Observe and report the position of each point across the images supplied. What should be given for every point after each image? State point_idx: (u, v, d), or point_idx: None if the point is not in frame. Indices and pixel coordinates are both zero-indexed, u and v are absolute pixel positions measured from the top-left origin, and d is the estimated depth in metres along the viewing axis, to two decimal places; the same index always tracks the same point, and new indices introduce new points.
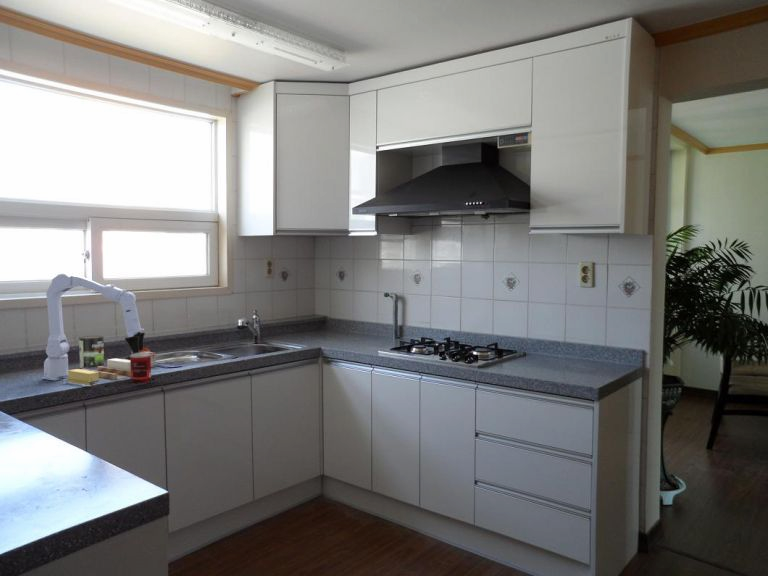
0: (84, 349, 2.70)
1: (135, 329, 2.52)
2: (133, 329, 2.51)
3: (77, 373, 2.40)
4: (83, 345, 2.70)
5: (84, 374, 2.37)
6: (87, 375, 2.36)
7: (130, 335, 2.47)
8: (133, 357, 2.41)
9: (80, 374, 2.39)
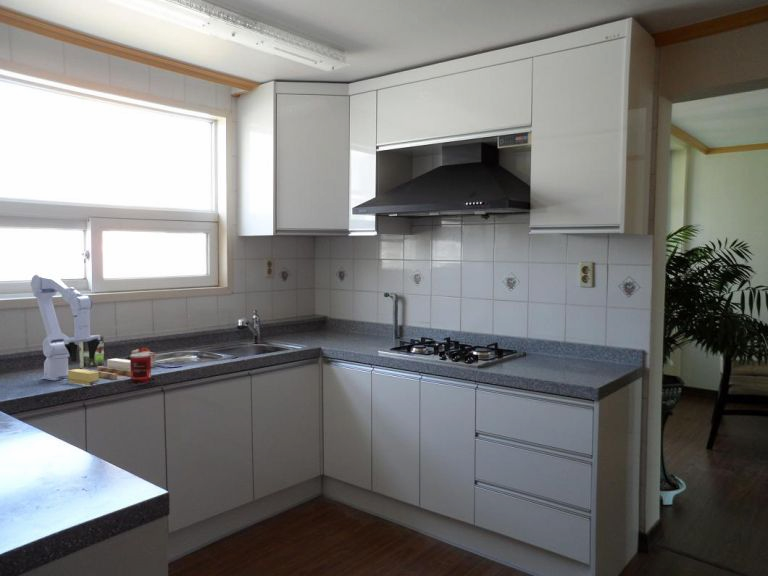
0: (84, 348, 2.70)
1: (78, 336, 2.37)
2: (76, 336, 2.38)
3: (77, 373, 2.40)
4: (83, 345, 2.70)
5: (84, 374, 2.37)
6: (87, 375, 2.36)
7: (65, 342, 2.34)
8: (133, 357, 2.41)
9: (80, 374, 2.39)
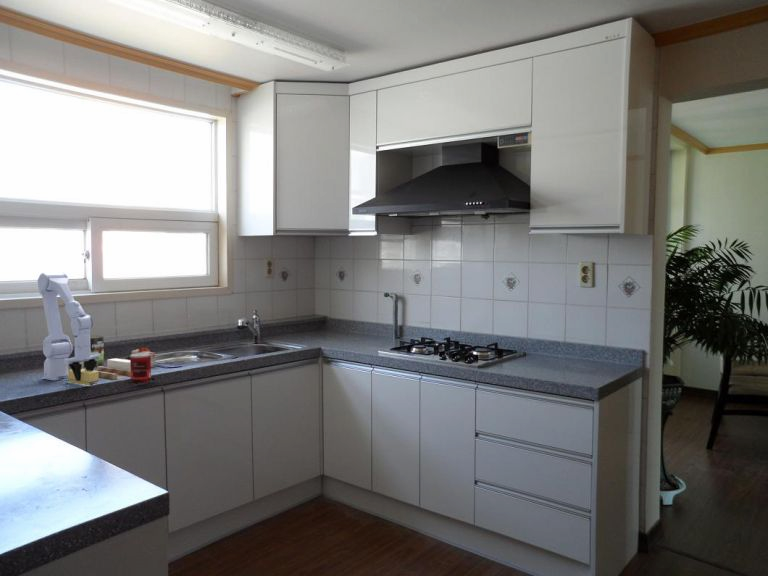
0: None
1: (78, 356, 2.38)
2: (77, 356, 2.38)
3: None
4: None
5: (84, 374, 2.37)
6: (87, 375, 2.36)
7: (65, 362, 2.35)
8: (133, 357, 2.41)
9: None
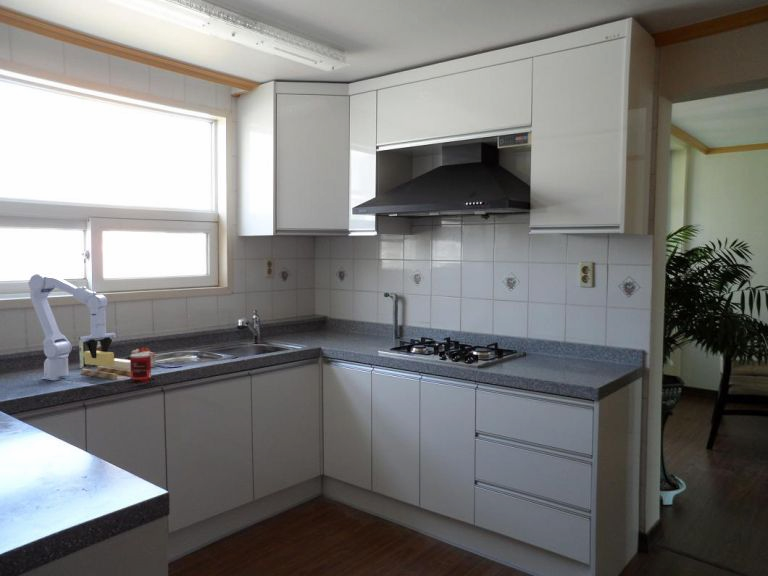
0: (84, 348, 2.70)
1: (94, 334, 2.43)
2: (93, 334, 2.44)
3: None
4: (83, 345, 2.70)
5: (100, 354, 2.43)
6: (103, 355, 2.42)
7: (81, 340, 2.40)
8: (133, 357, 2.41)
9: (96, 355, 2.44)
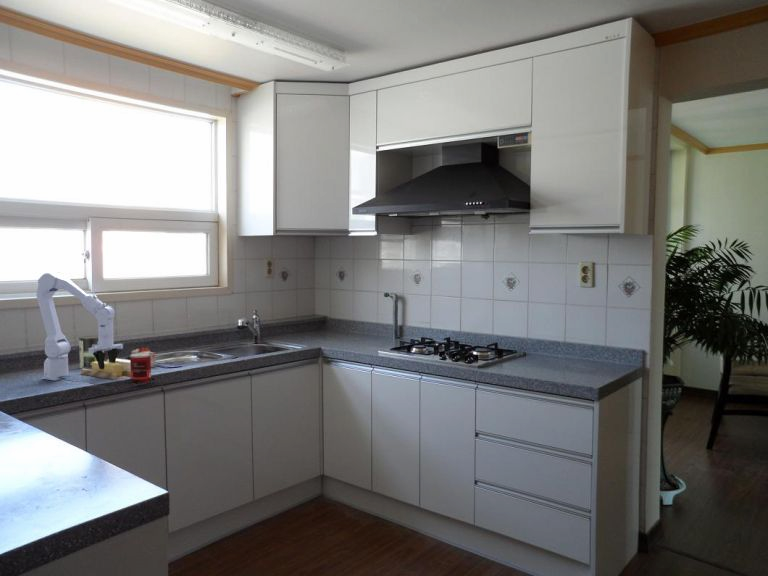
0: (84, 349, 2.70)
1: (102, 346, 2.47)
2: (100, 345, 2.47)
3: None
4: (83, 345, 2.70)
5: (108, 365, 2.46)
6: (111, 366, 2.45)
7: (90, 351, 2.43)
8: (133, 357, 2.41)
9: (104, 366, 2.48)
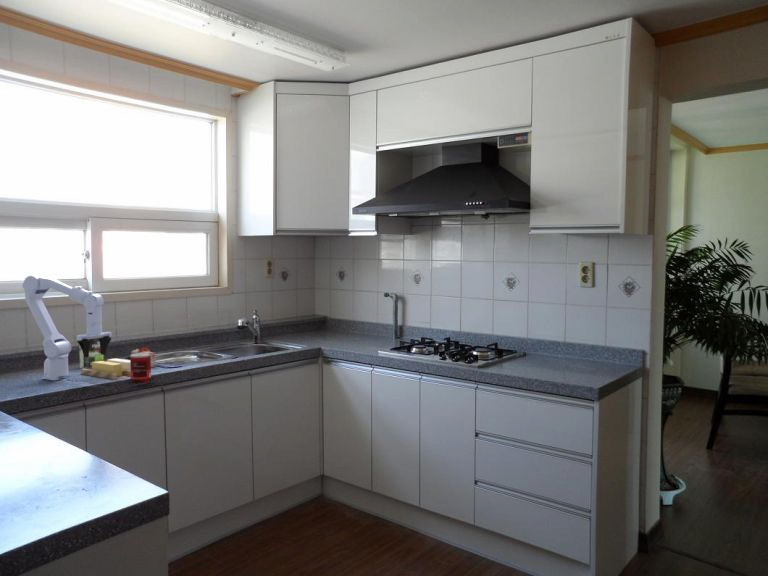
0: None
1: (90, 333, 2.45)
2: (89, 333, 2.45)
3: (101, 365, 2.49)
4: None
5: (108, 365, 2.46)
6: (111, 366, 2.45)
7: (78, 338, 2.41)
8: (133, 357, 2.41)
9: (104, 366, 2.48)
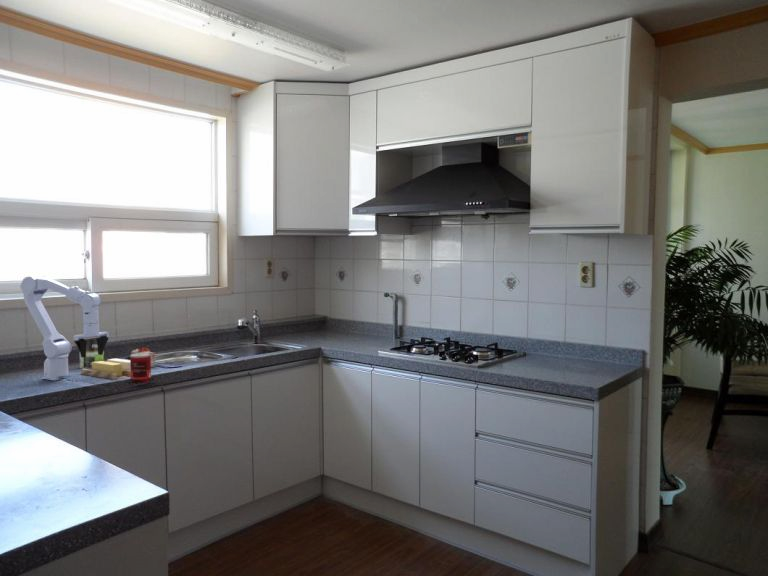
0: None
1: (87, 333, 2.44)
2: (86, 333, 2.44)
3: (101, 365, 2.49)
4: None
5: (108, 365, 2.46)
6: (111, 366, 2.45)
7: (75, 338, 2.41)
8: (133, 357, 2.41)
9: (104, 366, 2.48)
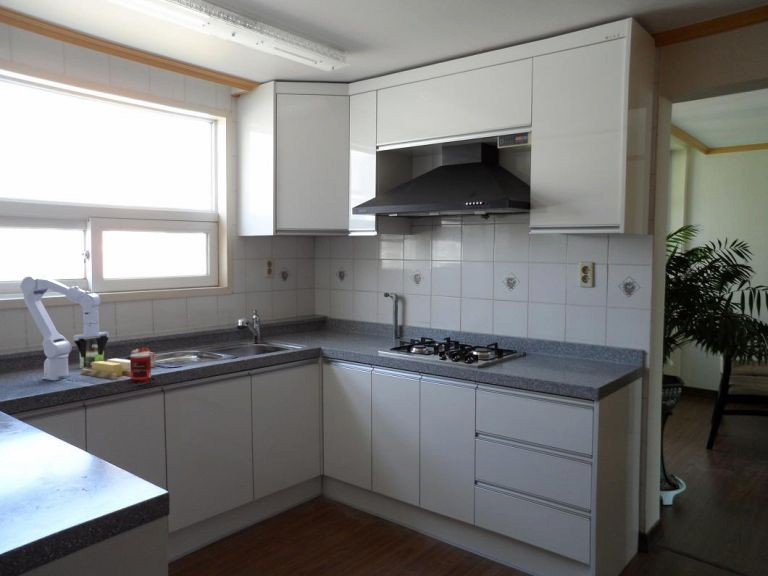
0: None
1: (87, 333, 2.44)
2: (86, 333, 2.44)
3: (101, 365, 2.49)
4: None
5: (108, 365, 2.46)
6: (111, 366, 2.45)
7: (75, 338, 2.41)
8: (133, 357, 2.41)
9: (104, 366, 2.48)
